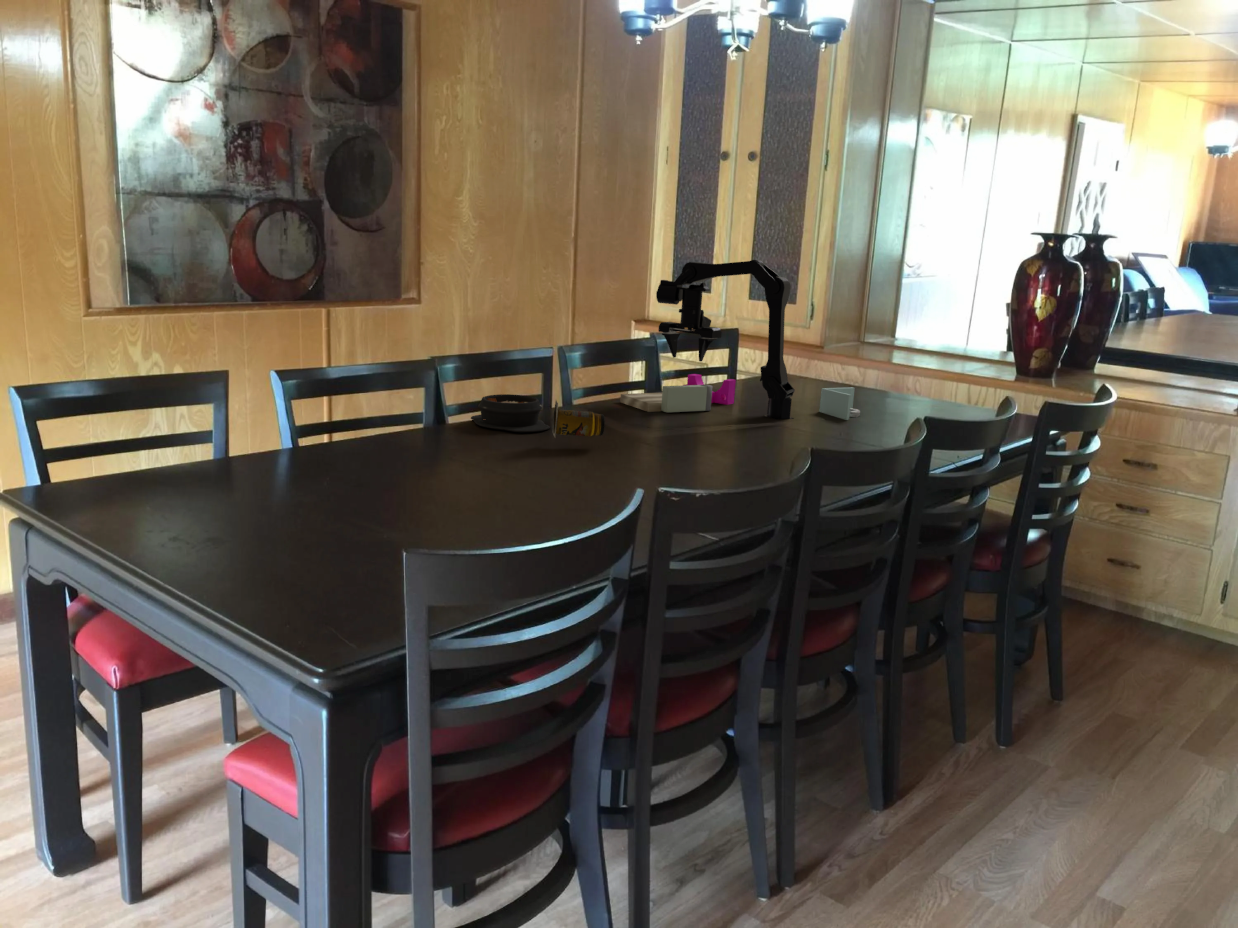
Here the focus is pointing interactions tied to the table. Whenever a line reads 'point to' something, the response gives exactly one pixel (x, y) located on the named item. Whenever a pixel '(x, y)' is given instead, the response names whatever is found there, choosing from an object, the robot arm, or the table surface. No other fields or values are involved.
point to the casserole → (510, 413)
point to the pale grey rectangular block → (686, 398)
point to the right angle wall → (838, 402)
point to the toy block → (723, 394)
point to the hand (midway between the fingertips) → (687, 359)
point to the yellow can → (577, 423)
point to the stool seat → (643, 401)
